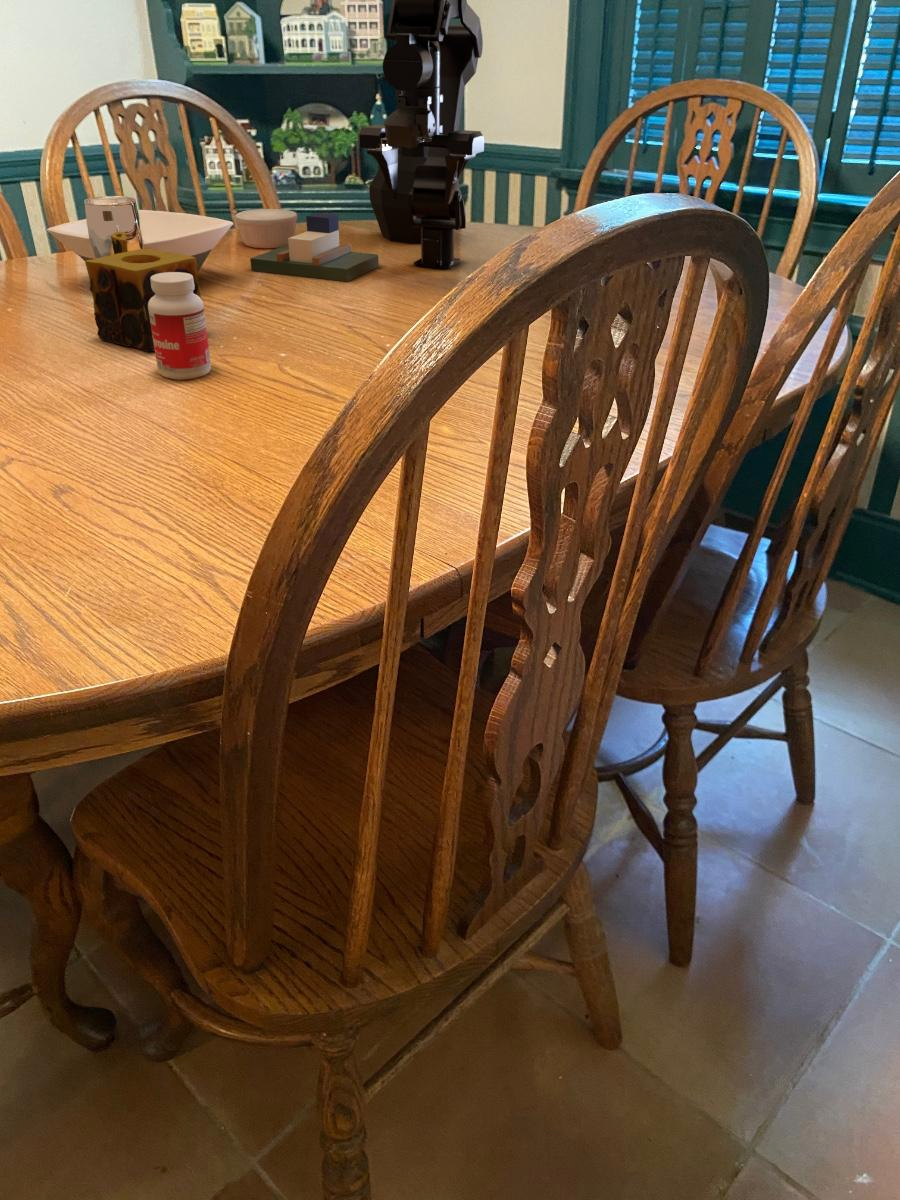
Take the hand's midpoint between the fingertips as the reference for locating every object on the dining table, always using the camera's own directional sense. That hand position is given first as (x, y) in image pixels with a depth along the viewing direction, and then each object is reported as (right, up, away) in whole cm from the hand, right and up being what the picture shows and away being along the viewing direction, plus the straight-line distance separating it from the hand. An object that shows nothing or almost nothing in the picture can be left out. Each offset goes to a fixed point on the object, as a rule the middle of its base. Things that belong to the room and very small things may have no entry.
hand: (420, 201), depth 142 cm
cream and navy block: (-18, -4, +11) cm, 22 cm away
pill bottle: (-27, -36, -34) cm, 56 cm away
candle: (-35, -28, -22) cm, 50 cm away
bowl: (-43, -12, +3) cm, 45 cm away
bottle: (-2, +9, +36) cm, 37 cm away
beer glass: (-41, -22, -13) cm, 48 cm away
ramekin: (-29, +4, +29) cm, 41 cm away
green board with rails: (-18, -6, +12) cm, 23 cm away
